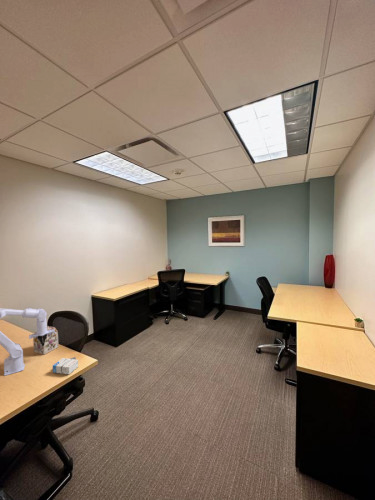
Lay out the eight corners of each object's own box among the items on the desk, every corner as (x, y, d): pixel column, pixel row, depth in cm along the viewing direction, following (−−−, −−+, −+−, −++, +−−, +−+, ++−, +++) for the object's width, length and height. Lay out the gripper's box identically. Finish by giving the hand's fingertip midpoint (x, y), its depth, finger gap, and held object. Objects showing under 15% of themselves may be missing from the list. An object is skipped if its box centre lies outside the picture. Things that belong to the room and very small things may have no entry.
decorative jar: (43, 355, 147) (42, 331, 147) (33, 352, 151) (32, 329, 151) (59, 347, 159) (58, 324, 158) (48, 344, 163) (47, 322, 162)
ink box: (52, 372, 127) (68, 374, 125) (52, 365, 127) (68, 367, 124) (63, 364, 135) (78, 366, 133) (63, 357, 135) (78, 359, 133)
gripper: (28, 331, 133) (29, 351, 134) (54, 325, 141) (55, 344, 142) (29, 327, 139) (30, 346, 140) (54, 322, 147) (55, 340, 148)
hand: (43, 345), depth 141 cm, fingers closed
